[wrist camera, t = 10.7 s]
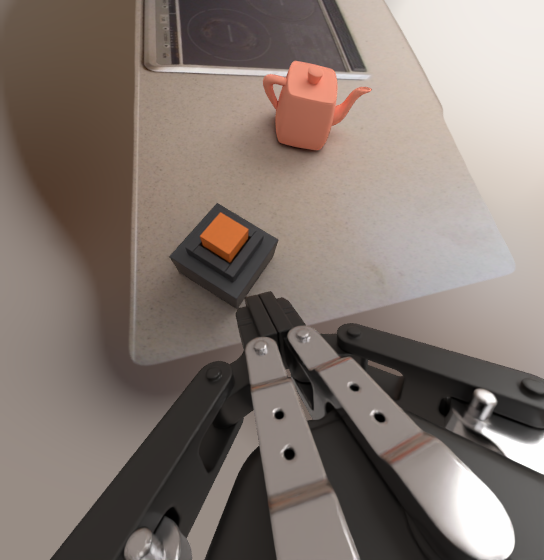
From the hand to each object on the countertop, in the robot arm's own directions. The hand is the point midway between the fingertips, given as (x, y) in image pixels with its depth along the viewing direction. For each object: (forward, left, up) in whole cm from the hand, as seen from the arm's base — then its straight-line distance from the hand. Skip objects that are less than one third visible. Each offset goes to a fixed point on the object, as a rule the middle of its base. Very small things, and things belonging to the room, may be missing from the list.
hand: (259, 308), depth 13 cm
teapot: (+40, +13, -20) cm, 46 cm away
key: (+8, +9, -13) cm, 18 cm away
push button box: (+8, +9, -20) cm, 23 cm away
